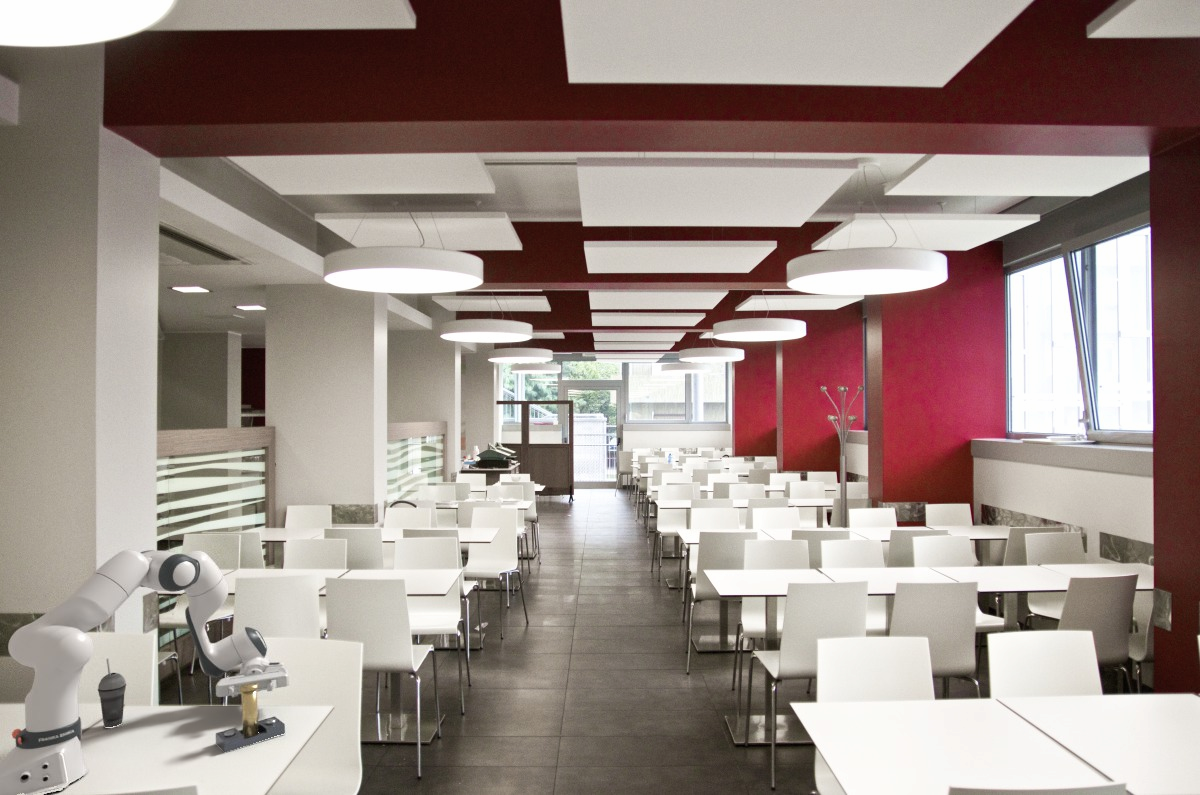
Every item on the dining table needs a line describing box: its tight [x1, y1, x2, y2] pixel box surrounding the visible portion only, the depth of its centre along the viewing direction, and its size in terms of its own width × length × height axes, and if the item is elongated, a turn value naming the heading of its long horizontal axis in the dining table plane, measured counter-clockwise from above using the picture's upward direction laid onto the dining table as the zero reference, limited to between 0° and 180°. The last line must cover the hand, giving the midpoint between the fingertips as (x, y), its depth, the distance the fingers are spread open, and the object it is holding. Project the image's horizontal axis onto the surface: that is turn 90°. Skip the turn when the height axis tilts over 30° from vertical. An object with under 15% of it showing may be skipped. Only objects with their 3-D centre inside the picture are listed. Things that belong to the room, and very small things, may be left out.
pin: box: [240, 683, 259, 738], centre depth 217 cm, size 5×5×15 cm
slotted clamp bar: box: [215, 716, 286, 753], centre depth 217 cm, size 16×8×4 cm, turn 132°
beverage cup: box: [97, 658, 127, 727], centre depth 231 cm, size 7×7×20 cm
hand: (252, 691), depth 227 cm, fingers open, 8 cm apart
